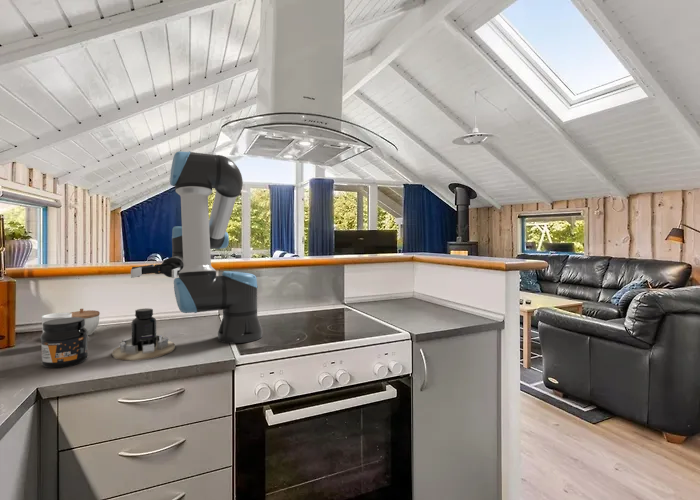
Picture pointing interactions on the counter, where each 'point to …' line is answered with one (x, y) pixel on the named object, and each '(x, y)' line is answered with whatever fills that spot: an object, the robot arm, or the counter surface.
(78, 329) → the supplement container
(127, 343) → the castellated ring
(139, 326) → the supplement bottle
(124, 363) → the counter surface
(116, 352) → the seat plate
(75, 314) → the lidded jar
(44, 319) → the white cup
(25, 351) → the counter surface
